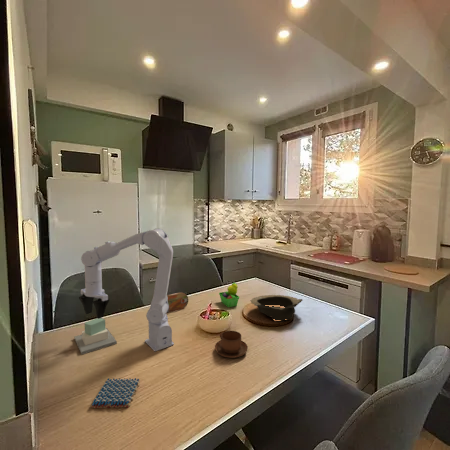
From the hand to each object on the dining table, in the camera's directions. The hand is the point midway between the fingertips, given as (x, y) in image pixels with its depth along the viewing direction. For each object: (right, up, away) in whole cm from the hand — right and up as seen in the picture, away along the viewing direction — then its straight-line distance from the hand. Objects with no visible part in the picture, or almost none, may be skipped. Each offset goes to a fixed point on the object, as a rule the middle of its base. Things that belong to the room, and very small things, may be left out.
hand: (94, 315), depth 101 cm
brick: (0, -6, +1) cm, 6 cm away
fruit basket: (+53, -8, +41) cm, 68 cm away
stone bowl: (+75, -9, +28) cm, 81 cm away
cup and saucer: (+53, -12, -5) cm, 54 cm away
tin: (+25, -9, +32) cm, 41 cm away
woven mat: (+20, -13, -28) cm, 37 cm away
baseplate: (0, -10, +1) cm, 10 cm away
